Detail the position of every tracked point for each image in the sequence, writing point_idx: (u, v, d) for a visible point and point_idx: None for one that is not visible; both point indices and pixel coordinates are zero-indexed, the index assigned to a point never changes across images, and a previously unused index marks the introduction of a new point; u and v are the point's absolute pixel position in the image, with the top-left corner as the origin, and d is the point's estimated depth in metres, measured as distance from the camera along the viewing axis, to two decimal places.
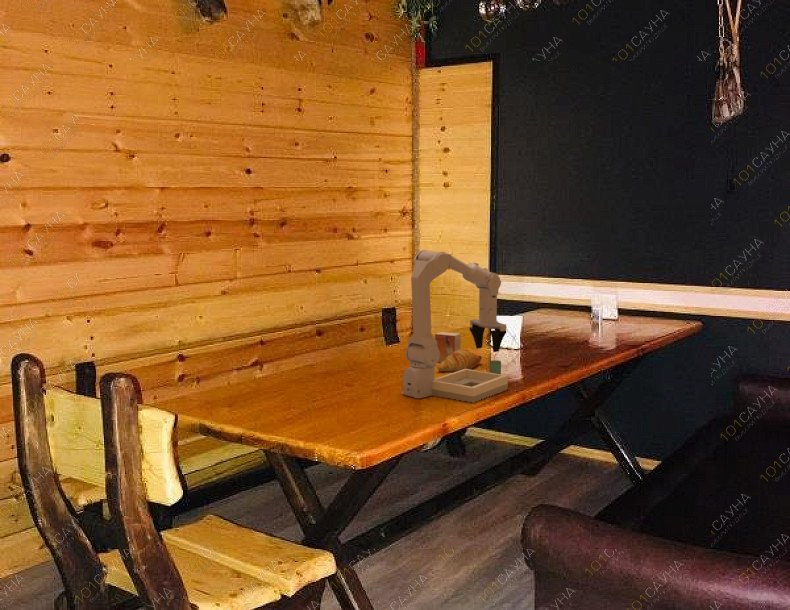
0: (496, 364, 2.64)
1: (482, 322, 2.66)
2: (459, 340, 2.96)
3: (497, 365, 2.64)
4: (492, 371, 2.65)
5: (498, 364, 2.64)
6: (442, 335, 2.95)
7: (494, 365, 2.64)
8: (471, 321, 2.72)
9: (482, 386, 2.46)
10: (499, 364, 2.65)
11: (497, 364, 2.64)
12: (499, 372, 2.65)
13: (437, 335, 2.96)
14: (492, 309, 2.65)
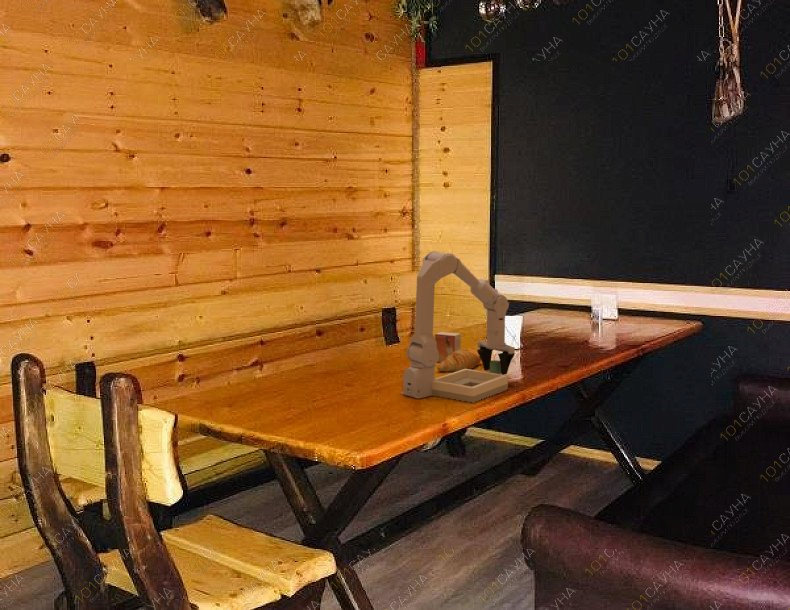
0: (496, 364, 2.64)
1: (490, 344, 2.63)
2: (459, 340, 2.96)
3: (497, 365, 2.64)
4: (492, 371, 2.65)
5: (498, 364, 2.64)
6: (442, 335, 2.95)
7: (494, 365, 2.64)
8: (479, 343, 2.69)
9: (482, 386, 2.46)
10: (499, 364, 2.65)
11: (497, 364, 2.64)
12: (499, 372, 2.65)
13: (437, 335, 2.96)
14: (500, 331, 2.62)
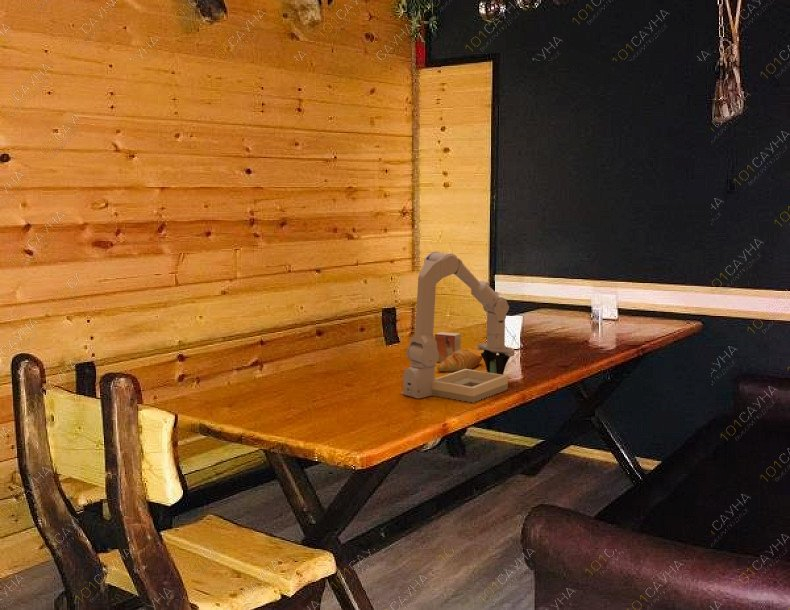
0: None
1: (490, 347, 2.63)
2: (459, 340, 2.96)
3: None
4: (492, 371, 2.65)
5: None
6: (442, 335, 2.95)
7: (494, 365, 2.64)
8: (479, 345, 2.69)
9: (482, 386, 2.46)
10: None
11: None
12: None
13: (437, 335, 2.96)
14: (500, 334, 2.62)
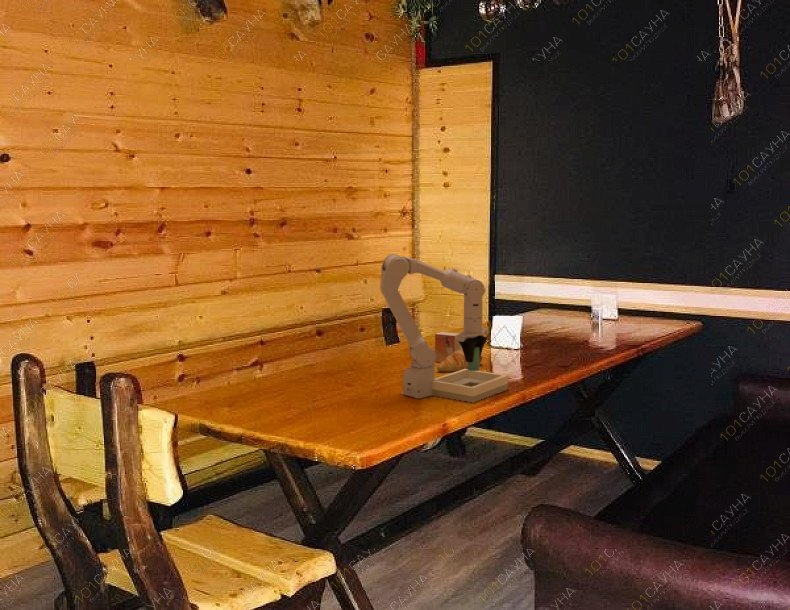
0: None
1: None
2: None
3: None
4: None
5: None
6: (442, 335, 2.95)
7: None
8: None
9: (482, 386, 2.46)
10: None
11: None
12: None
13: (437, 335, 2.96)
14: (466, 318, 2.52)
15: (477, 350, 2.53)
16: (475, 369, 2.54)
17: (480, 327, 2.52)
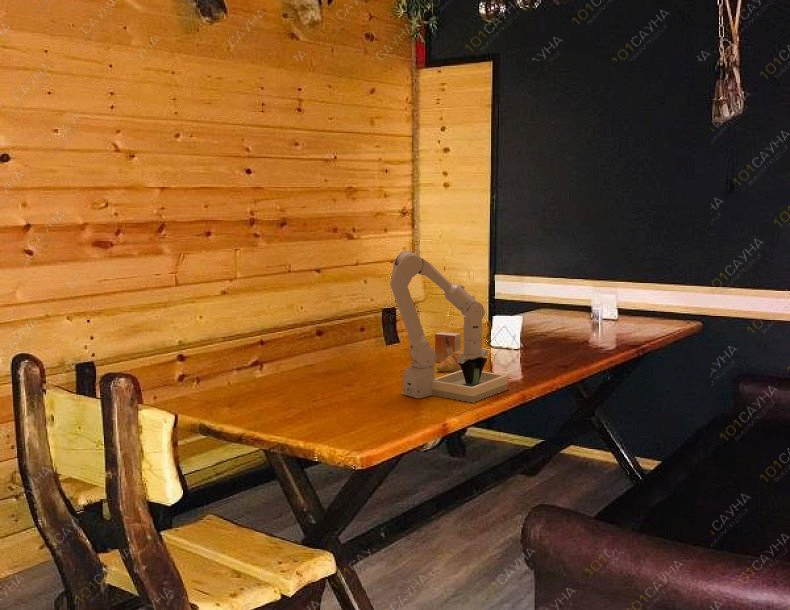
0: None
1: None
2: (459, 340, 2.96)
3: None
4: None
5: None
6: (442, 335, 2.95)
7: None
8: None
9: (482, 386, 2.46)
10: None
11: None
12: None
13: (437, 335, 2.96)
14: (466, 339, 2.53)
15: (477, 372, 2.54)
16: None
17: (480, 349, 2.53)
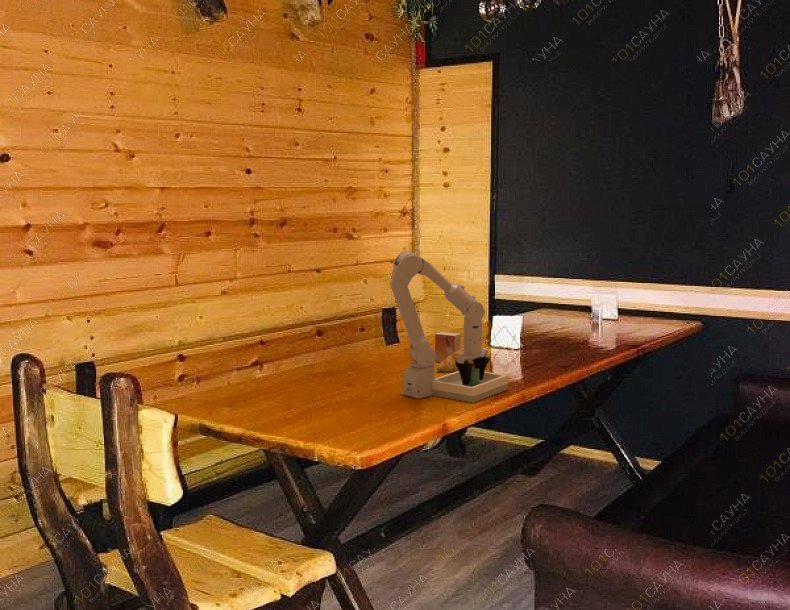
0: None
1: None
2: (459, 340, 2.96)
3: None
4: None
5: None
6: (442, 335, 2.95)
7: None
8: None
9: (482, 386, 2.46)
10: None
11: None
12: (471, 380, 2.54)
13: (437, 335, 2.96)
14: (466, 339, 2.53)
15: (477, 372, 2.54)
16: None
17: (480, 349, 2.53)
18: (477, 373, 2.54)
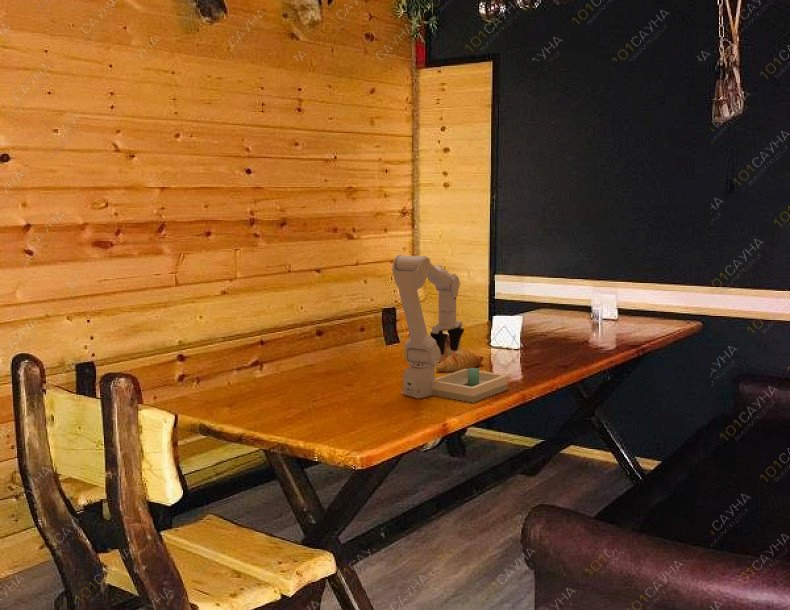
0: (468, 371, 2.55)
1: None
2: None
3: (468, 372, 2.55)
4: None
5: (470, 371, 2.54)
6: None
7: None
8: None
9: (482, 386, 2.46)
10: (470, 372, 2.54)
11: (468, 371, 2.55)
12: (471, 380, 2.54)
13: None
14: (440, 311, 2.63)
15: (477, 372, 2.54)
16: None
17: (454, 320, 2.63)
18: (477, 373, 2.54)
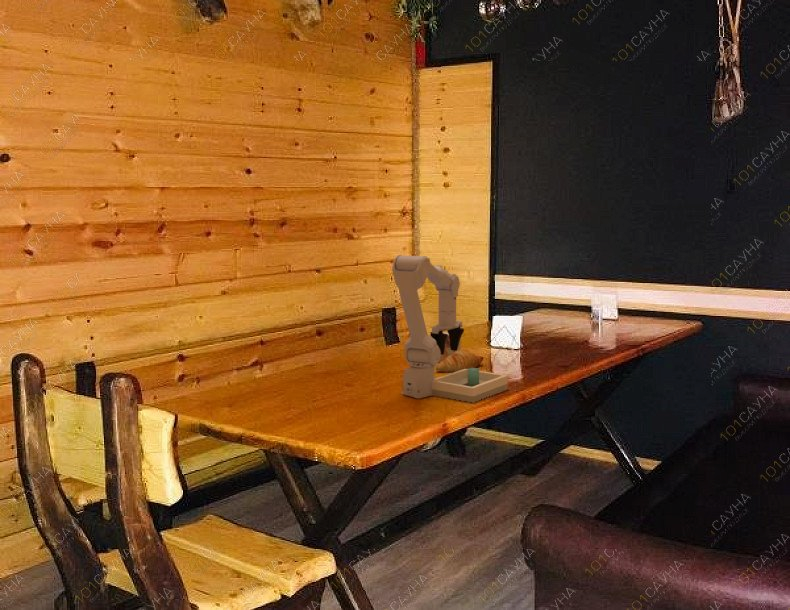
0: (468, 371, 2.55)
1: None
2: None
3: (468, 372, 2.55)
4: None
5: (470, 371, 2.54)
6: None
7: None
8: None
9: (482, 386, 2.46)
10: (470, 372, 2.54)
11: (468, 371, 2.55)
12: (471, 380, 2.54)
13: None
14: (440, 311, 2.63)
15: (477, 372, 2.54)
16: None
17: (454, 320, 2.63)
18: (477, 373, 2.54)
